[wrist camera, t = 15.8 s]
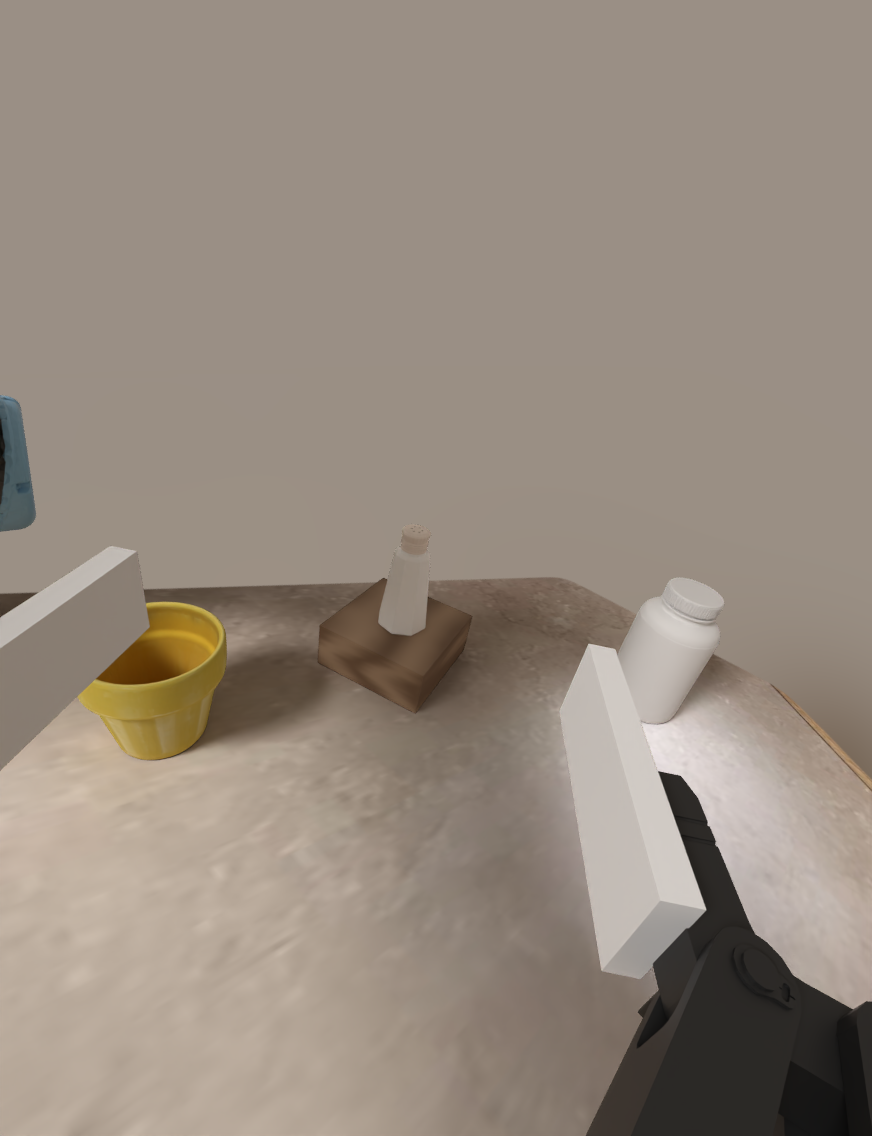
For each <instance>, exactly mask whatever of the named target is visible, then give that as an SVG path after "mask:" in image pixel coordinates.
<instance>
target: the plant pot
mask: <svg viewBox="0 0 872 1136" xmlns="http://www.w3.org/2000/svg"><path fill="white" fill-rule="evenodd" d="M146 607H147V613H148V619H149V625H150V627H149V628H148V629H147V630H146V631H145V632H144V633H143V634H142V635H141V636H140V637H139V638H138V639H137V640H136V641H135V642H134V643H133V644H132V645H131V646H129V647H128V648H127V649H126V650H125V651H124V652H123V653H122V654H121V655H120V656H119V657H118V658H117V659H116V660H115V661H114V662H113V663H112V664H111V665H110V666H109V667H108V668H107V669H106V670H104V671H103V672H102V673H101V674H100V675H99V676H98V677H97V678H96V679H95V680H94V681H93V682H92V683H91V684H90V685H89V686H88V687H87V688H86V689H85V690H84V691H83V692H82V693H81V694H79V695H78V696H77V697H78V699H79V700H80V702H81V703H82V704H83V705H84V706H85V707H86V708H87V709H89V710H90V711H92V712H94V713H96V714H98V715H100V717H101V719H102V720H103V722H104V723H105V725H106V726H107V728H108V729H109V731H110V732H111V734H112V735H113V737H114V738H115V740H116V741H117V743H118V745H119V746H120V747H121V749H122V750H123V751H124V752H125V753H127V754H128V755H130V756H132V757H134V758H138V759H143V760H157V759H163V758H168V757H171V756H174V755H177V754H179V753H181V752H183V751H184V750H186V749H188V748H189V747H190V746H192V745H193V744H194V743H195V742H196V741H197V740H198V739H199V738H200V737H201V735H202V734H203V732H204V730H205V728H206V725H207V720H208V716H209V711H210V707H211V703H212V698H213V694H214V689H215V688H216V687H217V685H218V684H219V683H220V681H221V679H222V677H223V675H224V672H225V669H226V659H227V645H226V633H225V629H224V627H223V625H222V623H221V622H220V620H219V619H218V618H217V617H216V616H215V615H213V614H212V613H210V612H209V611H207V610H205V609H203V608H200V607H197V606H194V605H191V604H185V603H179V602H152V603H146Z"/></svg>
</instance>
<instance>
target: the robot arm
mask: <svg viewBox="0 0 872 1136" xmlns="http://www.w3.org/2000/svg"><path fill="white" fill-rule="evenodd" d="M35 517H36V511H35V503H34V496H33V489H32V483H31V475H30V468H29V461H28V454H27V447H26V440H25V434H24V427H23V419H22V413H21V407H20V405H19V403H18V402H17V401H16V400H15V399H13V398H11V397H8V396H2V395H0V532H1V531H10V530H19V529H23V528H26V527H28V526H29V525H31V524H32V523H33V521H34V520H35ZM149 627H150V625H149V619H148V613H147V607H146V602H145V596H144V590H143V584H142V578H141V572H140V566H139V560H138V554H137V551H133V550H129V549H124V548H119V547H114V546H110V547H108V548H106V549H105V550H103V551H102V552H100V553H99V554H97V555H96V556H94V557H93V558H91V559H89V560H88V561H87V562H85V563H83V564H82V565H80V566H79V567H77V568H76V569H74V570H73V571H71V572H69V573H68V574H66V575H65V576H64V577H62V578H60V579H59V580H57V581H56V582H54V583H53V584H51V585H50V586H48V587H46V588H45V589H43V590H42V591H40V592H39V593H37V594H36V595H34V596H32V597H31V598H29V599H28V600H26V601H25V602H23V603H22V604H20V605H19V606H17V607H15V608H14V609H12V610H11V611H9V612H8V613H6V614H5V615H3V616H2V617H0V770H1V769H2V768H3V767H4V766H6V765H7V764H8V763H9V762H10V761H11V760H12V759H13V758H14V757H15V756H16V755H17V754H18V753H19V752H20V751H21V750H22V749H23V748H24V747H25V746H26V745H27V744H28V743H29V742H31V741H32V740H33V739H34V738H35V737H36V736H37V735H38V734H39V733H40V732H41V731H42V730H43V729H44V728H45V727H46V726H47V725H48V724H49V723H50V722H51V721H52V720H53V719H54V718H56V717H57V716H58V715H59V714H60V713H61V712H62V711H63V710H64V709H65V708H66V707H67V706H68V705H69V704H70V703H71V702H72V701H73V700H74V699H75V698H76V697H77V696H78V695H79V694H81V693H82V692H83V691H84V690H85V689H86V688H87V687H88V686H89V685H90V684H91V683H92V682H93V681H94V680H95V679H96V678H97V677H98V676H99V675H100V674H101V673H102V672H103V671H104V670H106V669H107V668H108V667H109V666H110V665H111V664H112V663H113V662H114V661H115V660H116V659H117V658H118V657H119V656H120V655H121V654H122V653H123V652H124V651H125V650H126V649H127V648H128V647H129V646H131V645H132V644H133V643H134V642H135V641H136V640H137V639H138V638H139V637H140V636H141V635H142V634H143V633H144V632H145V631H146V630H147V629H148V628H149ZM559 713H560V719H561V725H562V731H563V737H564V743H565V749H566V756H567V762H568V768H569V774H570V780H571V786H572V793H573V799H574V805H575V811H576V817H577V823H578V830H579V836H580V842H581V848H582V854H583V860H584V867H585V873H586V879H587V885H588V891H589V897H590V904H591V910H592V916H593V922H594V928H595V934H596V941H597V947H598V953H599V959H600V965H601V971H603V972H608V973H613V974H617V975H622V976H627V977H632V978H637V979H641V978H642V977H643V976H644V975H645V974H646V973H647V972H648V971H649V970H650V969H651V968H652V967H654V972H655V976H656V980H657V984H658V988H659V991H658V992H657V993H656V994H655V995H654V996H653V997H652V998H651V999H649V1000H648V1001H647V1002H646V1003H645V1004H644V1005H643V1007H642V1008H641V1009H640V1010H639V1011H638V1013H639V1014H640V1015H641V1016H642V1017H643V1019H642V1021H641V1023H640V1025H639V1027H638V1029H637V1031H636V1034H635V1036H634V1038H633V1040H632V1042H631V1044H630V1046H629V1048H628V1050H627V1052H626V1054H625V1056H624V1058H623V1060H622V1062H621V1064H620V1066H619V1069H618V1071H617V1073H616V1075H615V1077H614V1079H613V1081H612V1083H611V1085H610V1087H609V1089H608V1091H607V1093H606V1095H605V1097H604V1099H603V1101H602V1104H601V1106H600V1108H599V1110H598V1112H597V1114H596V1116H595V1118H594V1120H593V1122H592V1124H591V1126H590V1128H589V1130H588V1132H587V1134H586V1136H872V1002H867V1001H866V1002H865V1003H863V1004H861V1005H860V1006H858V1007H857V1008H855V1009H851V1008H849V1007H847V1006H846V1005H844V1004H842V1003H840V1002H838V1001H836V1000H835V999H833V998H831V997H829V996H827V995H826V994H824V993H822V992H820V991H818V990H817V989H815V988H813V987H811V986H809V985H808V984H806V983H804V982H802V981H801V980H799V979H798V978H796V977H795V976H793V975H792V973H791V971H790V970H789V968H788V967H787V965H786V964H785V962H784V961H783V959H782V958H781V957H780V956H779V954H778V953H777V952H776V951H775V950H774V949H773V948H772V947H771V946H770V945H769V944H768V943H767V942H766V941H764V940H763V939H761V938H760V937H758V936H757V935H755V933H754V931H753V929H752V927H751V925H750V923H749V921H748V919H747V916H746V914H745V911H744V909H743V906H742V904H741V902H740V899H739V897H738V894H737V892H736V889H735V887H734V885H733V882H732V880H731V877H730V875H729V872H728V870H727V868H726V865H725V863H724V860H723V858H722V855H721V853H720V851H719V848H718V847H717V846H716V845H715V842H716V841H715V838H714V836H713V834H712V831H711V829H710V827H709V826H708V825H707V822H708V821H707V819H706V817H705V814H704V812H703V809H702V807H701V804H700V802H699V800H698V798H697V796H696V795H695V794H694V792H693V791H692V790H691V789H690V787H689V786H688V785H687V783H686V782H685V781H684V779H683V778H682V777H681V776H679V775H674V774H669V773H664V772H659V771H658V770H657V767H656V764H655V762H654V759H653V756H652V753H651V750H650V747H649V745H648V742H647V739H646V736H645V733H644V730H643V727H642V725H641V722H640V719H639V716H638V713H637V710H636V707H635V705H634V702H633V699H632V696H631V693H630V690H629V687H628V685H627V682H626V679H625V676H624V673H623V670H622V667H621V665H620V662H619V659H618V656H617V653H616V650H615V649H612V648H607V647H603V646H598V645H593V644H588V646H587V649H586V651H585V653H584V656H583V658H582V660H581V662H580V665H579V667H578V669H577V672H576V674H575V676H574V678H573V681H572V683H571V685H570V688H569V690H568V692H567V694H566V697H565V699H564V701H563V704H562V706H561V708H560V710H559Z"/></svg>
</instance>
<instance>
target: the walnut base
mask: <svg viewBox="0 0 872 1136" xmlns="http://www.w3.org/2000/svg"><path fill="white" fill-rule="evenodd" d="M386 584H387V579H385V578H383V579H381V580H380V581H378V582H377V583H376V584H374V585H373V586H372V587H370V588H369V589H368V590H366V591H365V592H364V593H362V594H361V595H360V596H358V597H357V598H356V599H354V600H353V601H352V602H350V603H349V604H348V605H346V606H345V607H344V608H342V609H341V610H340V611H338V612H337V613H336V614H334V615H333V616H332V617H330V618H329V619H328V620H326V621H325V622H324V623H322V624H321V625H320V632H319V649H318V663H320V664H322V665H324V666H326V667H327V668H329V669H331V670H333V671H335V672H337V673H339V674H341V675H343V676H345V677H347V678H348V679H350V680H352V681H354V682H356V683H358V684H360V685H362V686H364V687H366V688H367V689H369V690H371V691H373V692H375V693H377V694H379V695H381V696H383V697H385V698H387V699H388V700H390V701H392V702H394V703H396V704H398V705H400V706H402V707H404V708H406V709H408V710H409V711H411V712H413V713H416V712H417V710H418V709H419V708H420V707H421V705H422V704H423V703H424V701H425V700H426V699H427V697H428V696H429V695H430V693H431V692H432V691H433V689H434V688H435V687H436V685H437V684H438V683H439V682H440V680H441V679H442V678H443V676H444V675H445V674H446V672H447V671H448V670H449V668H450V667H451V666H452V664H453V663H454V662H455V660H456V659H457V658H458V657H459V655H460V654H461V653H462V651H463V650H464V646H465V643H466V639H467V635H468V631H469V627H470V623H471V619H472V616H471V615H469V614H466V613H464V612H462V611H459V610H457V609H455V608H452V607H450V606H448V605H445V604H443V603H441V602H438V601H436V600H434V599H431V598H429V597H428V599H427V612H426V625H425V629H423V630H421V631H419V632H418V633H416V634H414V635H412V636H406V635H397V634H391V633H390V632H389V631H387V630H386V629H385V628H383V627H382V626H381V625H380V624H379V623H378V619H379V611H380V607H381V603H382V599H383V595H384V592H385V588H386Z"/></svg>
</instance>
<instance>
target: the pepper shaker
mask: <svg viewBox="0 0 872 1136" xmlns="http://www.w3.org/2000/svg"><path fill="white" fill-rule="evenodd" d="M430 536H431V533H430V531H429V530H428V529H427V528H425V527H423V526H420V525H407V526H405V527H404V528H403V529H402V539H401V543H402V544H401V546H399V547H397V548H396V550H395V553H394V557H393V560H392V565H391V568H390V572H389V576H388V580H387V584H386V588H385V592H384V595H383V599H382V603H381V607H380V611H379V619H378V623H379V624H380V625H381V626H382V627H383V628H385V629H386V630H387V631H389V632H390V633H391V634H397V635H406V636H412V635H414V634H416V633H418V632H419V631H421V630H423V629H425V625H426V612H427V599H428V585H429V572H430V552H429V551H428V550H427V547H428V543H429V541H428V540H429V538H430Z"/></svg>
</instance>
